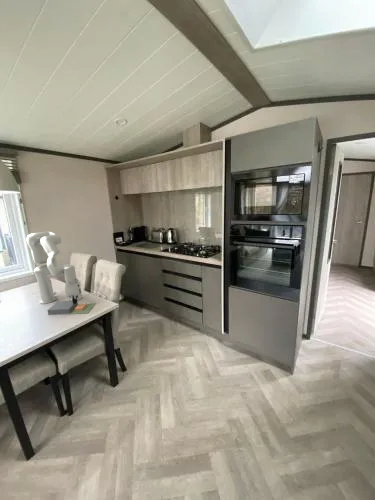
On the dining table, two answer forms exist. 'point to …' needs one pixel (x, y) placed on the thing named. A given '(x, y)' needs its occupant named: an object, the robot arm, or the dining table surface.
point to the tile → (80, 307)
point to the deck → (62, 307)
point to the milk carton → (79, 296)
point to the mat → (86, 310)
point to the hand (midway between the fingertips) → (75, 303)
